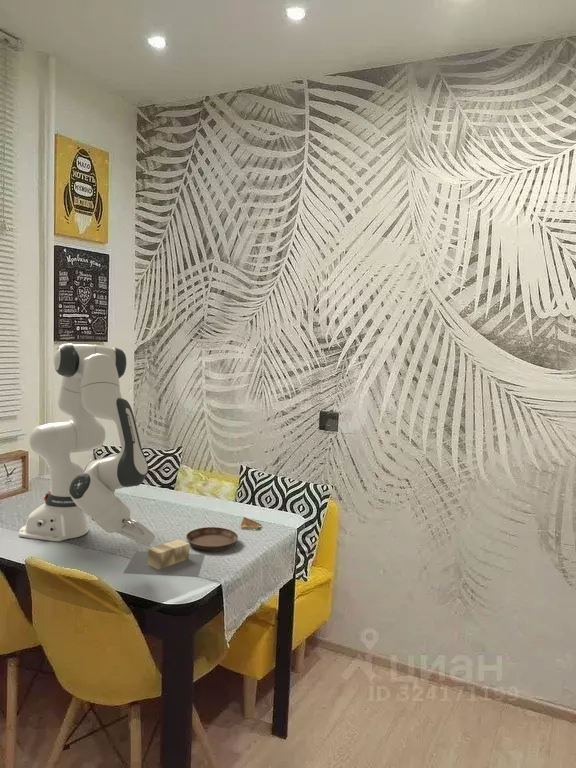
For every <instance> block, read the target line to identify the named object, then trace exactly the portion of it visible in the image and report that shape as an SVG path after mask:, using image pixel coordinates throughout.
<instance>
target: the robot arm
mask: <svg viewBox="0 0 576 768" xmlns="http://www.w3.org/2000/svg"><path fill="white" fill-rule="evenodd" d="M127 363H128V362H127V356H126V354H125V352H124V351H123V350H122V349H120V348H118V347H114V346H112V347H110V346H106V345H101V344H100V345H99V344H95V343H94V344H85V343H82V344H80V343H79V344H78V343H77V344H76V343H75V344H74V343H71V342H70V343H63V344H61V345H59V346H58V347H57V348H56V351H55V353H54V356H53V365H54V369H55V370H54V371H55V372H56V373H57V374H58V375H59V376H61V377H62V378H61V384H60V389H59V394H58V399H57V404H58V408H59V410H60V412H62V413H64V414H66V415H67V416H69V417H70V418H69V420H67V421H60V422H48V423H45V424H41V425H38V426H35V427H34V428H33V429H32V431H31V433H30V435H29V445H30V448H31V450H32V451H33V453H34V454H36V455H38V456H39V457H41V458H42V459H43V460H44V461H45V463H46V465H47V466H48V470H49V475H50V476H49V477H50V489H49V490H48V491H47V493H46V494H45V495H44V496H43V501H44V503H42V504H41V505H40V506H38V507H36V509H34V510H33V511H32V512H31V513H30V514H29V515H28V516H27V519H26V524H25V525H23V526H22V527H21V528H20V529H19V530H18V537H20V538H29V539H34V540H35V539H37V540H42V541H49V542H50V541H51V542H62V541H65V540H68V539H74V538H78V537H82V536H84V535H86V534H87V533H88V532H89V526H88V524H87V523H88V522H87V518H86V515H87V516H88V517H89V518H90V519H91V520H92V521H93V522H95V524H97V525H98V526H99V527H100V528H101V529H102V530H103V531H105V533H108V534H112V533H116V534H117V533H118V534H120V535H122V536H123V537H126V538H128V539H131V540H132V541H134V542H136V543H138V544H140V545H143V546H146V547H150V546H151V545H152V543H153V541H154V540H155V538H156V535H155V534H154V533H153V532H152V531H151V530H150V529H149V528H147V526H145V525H144V524H142V523H140V521H137V520H134V519H132V518H131V509H130V507H129V506H127V505H126V504H125V503H124V501H123V500H121V499H120V498H119V497H118V496H116V494H115V492H116V490H119V489H123V488H130V487H138V486H140V485H141V484H143V482H144V481H145V479H146V478H147V475H148V472H149V465H148V461H147V458H146V456H145V453H144V451H143V449H142V445H141V439H140V436H139V432H138V427H137V424H136V419H135V415H134V412H133V409H132V406H131V404H130V403H129V401H128V400H127V399H125V398H123V396H122V394H121V388H120V378H122V377H123V376H124V375H125V373H126V368H127ZM96 418H97V419H96ZM98 419H103V420H107V421H108V420H109V421H113V422H114V423H115V425H116V427H117V432H118V433H117V434H118V437H119V443H120V446H121V450H120V451H119V452H118V453H116V454H111V455H109V456H104V457H100V458H97V459H94V460H92V461H89V462H88V463H87V465H86V466H85V468H84V467H82V466H81V465H79V464H77V463H76V462H74V461H71V454H74V453H83V452H89V451H92V450H96V449H98V448H101V447H102V445H104V443H105V440H106V430H105V428H104V426H103V425H102V423H101V422H99V420H98Z"/></svg>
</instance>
